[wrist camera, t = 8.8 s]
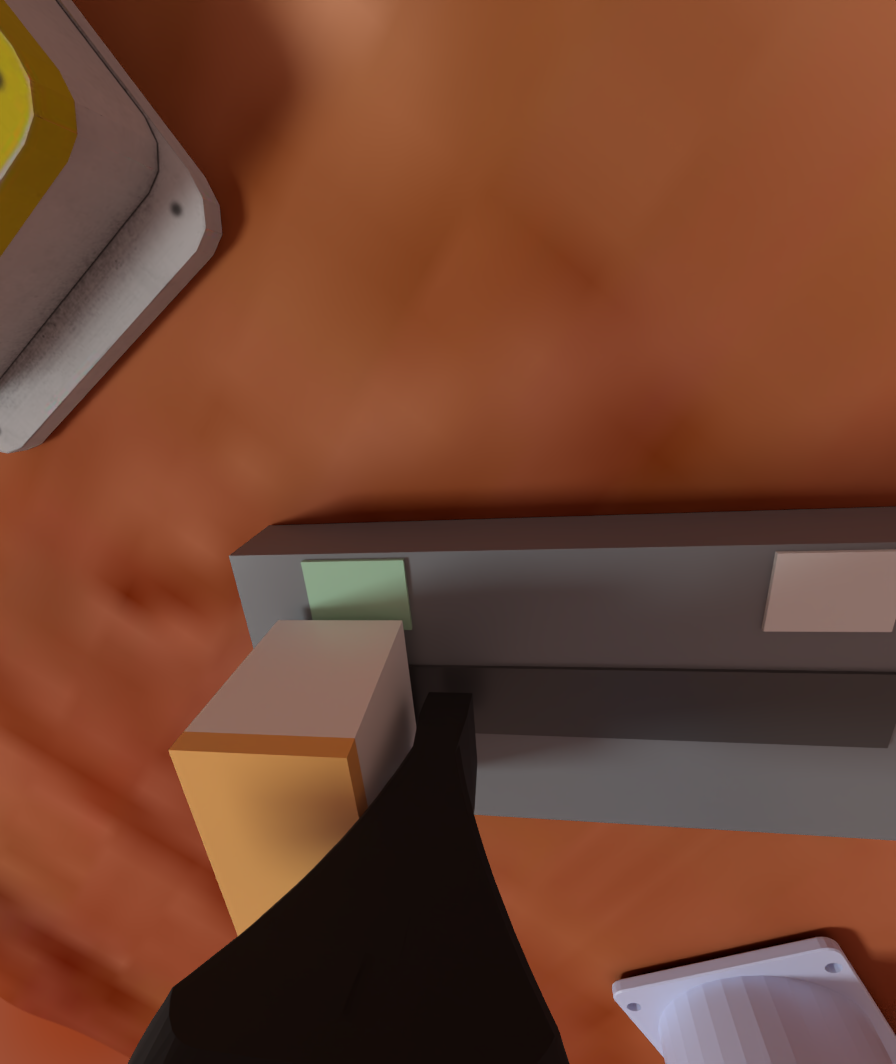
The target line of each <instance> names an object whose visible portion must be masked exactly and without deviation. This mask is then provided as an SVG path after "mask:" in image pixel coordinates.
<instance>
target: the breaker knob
mask: <svg viewBox="0 0 896 1064" xmlns="http://www.w3.org/2000/svg"><path fill="white" fill-rule="evenodd" d="M415 733H416V720H415V713H414V705H413V698H412V690H411V682H410V675H409V667H408V660H407V652H406V644H405V637H404V629H403V622H402V620H278V621H277V622H276V623H275V624H274V625H273V627H272V628H271V629H270V630H269V631H268V633H267V634H266V635H265V636H264V637H263V639H262V640H261V641H260V642H259V643H258V644H257V646H256V647H255V648H254V649H253V650H252V652H251V653H250V654H249V655H248V656H247V657H246V659H245V660H244V661H243V662H242V663H241V665H240V666H239V667H238V668H237V669H236V670H235V672H234V673H233V674H232V675H231V676H230V678H229V679H228V680H227V681H226V682H225V684H224V685H223V686H222V687H221V688H220V689H219V691H218V692H217V693H216V694H215V695H214V697H213V698H212V699H211V700H210V701H209V702H208V704H207V705H206V706H205V707H204V708H203V710H202V711H201V712H200V713H199V714H198V715H197V717H196V718H195V719H194V720H193V721H192V723H191V724H190V725H189V726H188V727H187V729H186V730H185V731H184V732H183V733H182V734H181V736H180V737H179V738H178V739H177V740H176V742H175V743H174V744H173V745H172V746H171V747H170V749H169V750H168V751H169V753H170V756H171V759H172V761H173V764H174V767H175V769H176V772H177V775H178V777H179V780H180V783H181V785H182V788H183V791H184V793H185V796H186V799H187V801H188V804H189V807H190V809H191V812H192V815H193V817H194V820H195V823H196V825H197V828H198V831H199V833H200V836H201V839H202V841H203V844H204V847H205V849H206V852H207V855H208V857H209V860H210V863H211V865H212V868H213V871H214V873H215V876H216V879H217V881H218V884H219V887H220V889H221V892H222V894H223V897H224V900H225V902H226V905H227V908H228V910H229V913H230V916H231V918H232V921H233V924H234V926H235V929H236V932H237V934H238V936H239V935H240V934H241V933H242V932H244V931H245V930H246V929H247V928H248V927H250V926H251V925H252V924H253V923H254V922H255V921H256V920H258V919H259V918H260V917H261V916H262V915H263V914H264V913H265V912H266V911H268V910H269V909H270V908H271V907H272V906H273V905H274V904H275V903H276V902H278V901H279V900H280V899H281V898H282V897H283V896H284V895H285V894H286V893H288V892H289V891H290V890H291V889H292V888H293V887H294V886H295V885H296V884H297V883H298V882H299V881H301V880H302V879H303V878H304V877H305V876H306V875H307V874H308V873H309V872H310V871H311V870H312V869H313V868H314V867H315V866H316V865H317V864H318V863H319V862H320V861H321V860H322V858H323V857H324V856H325V855H326V854H327V853H328V852H329V851H330V850H331V849H332V848H333V847H334V846H335V845H336V844H337V843H338V842H339V841H340V840H341V838H342V837H343V836H344V835H345V834H346V833H347V832H348V831H349V829H350V828H351V827H352V826H353V825H354V824H355V823H356V821H357V820H358V819H359V818H360V817H361V816H362V814H363V813H364V812H365V811H366V810H367V808H368V807H369V806H370V805H371V803H372V802H373V801H374V800H375V798H376V797H377V796H378V794H379V793H380V792H381V790H382V789H383V788H384V786H385V785H386V784H387V782H388V781H389V780H390V778H391V777H392V776H393V774H394V773H395V772H396V770H397V769H398V767H399V766H400V765H401V763H402V762H403V760H404V759H405V757H406V756H407V754H408V753H409V751H410V750H411V748H412V747H413V743H414V738H415Z"/></svg>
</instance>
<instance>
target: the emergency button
mask: <svg viewBox="0 0 896 1064" xmlns="http://www.w3.org/2000/svg"><path fill="white" fill-rule="evenodd" d="M221 236H222V225H221V214H220V205H219V203H218V201H217V199H216V197H215V195H214V193H213V191H212V189H211V187H210V186H209V184H208V182H207V180H206V178H205V176H204V175H203V174H202V172H201V171H200V170H199V168H198V167H197V166H196V164H195V163H194V162H193V160H192V159H191V158H190V156H189V155H188V154H187V152H186V151H185V150H184V148H183V147H182V146H181V144H180V143H179V142H178V140H177V139H176V138H175V136H174V135H173V134H172V133H171V131H170V130H169V129H168V127H167V126H166V125H165V123H164V122H163V121H162V119H161V118H160V117H159V115H158V114H157V113H156V111H155V110H154V109H153V107H152V106H151V105H150V103H149V102H148V101H147V99H146V98H145V97H144V95H143V94H142V93H141V91H140V90H139V89H138V87H137V86H136V85H135V84H134V82H133V81H132V80H131V78H130V77H129V76H128V74H127V73H126V72H125V70H124V69H123V68H122V66H121V65H120V64H119V62H118V61H117V60H116V58H115V57H114V56H113V54H112V53H111V52H110V50H109V49H108V48H107V46H106V45H105V44H104V42H103V41H102V40H101V39H100V37H99V36H98V35H97V33H96V32H95V31H94V29H93V28H92V27H91V25H90V24H89V23H88V21H87V20H86V19H85V17H84V16H83V15H82V13H81V12H80V11H79V9H78V8H77V7H76V5H75V4H74V3H73V1H72V0H0V452H4V453H13V452H18V451H24V450H28V449H31V448H33V447H36V446H38V445H40V444H42V443H43V442H44V440H45V439H46V438H47V437H48V436H49V435H50V434H51V433H52V432H53V431H54V429H55V428H56V427H57V426H58V425H59V424H60V423H61V422H62V421H63V420H64V419H65V417H66V416H67V415H68V414H69V413H70V412H71V411H72V410H73V409H74V408H75V406H76V405H77V404H78V403H79V402H80V401H81V400H82V399H83V398H84V397H85V395H86V394H87V393H88V392H89V391H90V390H91V389H92V388H93V387H94V386H95V385H96V383H97V382H98V381H99V380H100V379H101V378H102V377H103V376H104V375H105V374H106V372H107V371H108V370H109V369H110V368H111V367H112V366H113V365H114V364H115V363H116V361H117V360H118V359H119V358H120V357H121V356H122V355H123V354H124V353H125V352H126V351H127V349H128V348H129V347H130V346H131V345H132V344H133V343H134V342H135V341H136V340H137V338H138V337H139V336H140V335H141V334H142V333H143V332H144V331H145V330H146V329H147V327H148V326H149V325H150V324H151V323H152V322H153V321H154V320H155V319H156V318H157V317H158V315H159V314H160V313H161V312H162V311H163V310H164V309H165V308H166V307H167V306H168V304H169V303H170V302H171V301H172V300H173V299H174V298H175V297H176V296H177V295H178V293H179V292H180V291H181V290H182V289H183V288H184V287H185V286H186V285H187V284H188V283H189V281H190V280H191V279H192V278H193V277H194V276H195V275H196V274H197V273H198V272H199V270H200V269H201V268H202V267H203V266H204V265H205V264H206V263H207V262H208V261H209V259H210V258H211V257H212V256H213V255H214V253H215V250H216V248H217V246H218V243H219V241H220V239H221Z"/></svg>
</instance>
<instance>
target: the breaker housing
mask: <svg viewBox="0 0 896 1064" xmlns="http://www.w3.org/2000/svg"><path fill="white" fill-rule="evenodd" d="M229 558H230V562H231V565H232V569H233V573H234V577H235V580H236V584H237V588H238V592H239V596H240V599H241V603H242V607H243V611H244V614H245V618H246V622H247V626H248V629H249V633H250V637H251V641H252V644H253V648H255V647H256V646H257V644H258V643H259V642H260V641H261V640H262V639H263V637H264V636H265V635H266V634H267V633H268V631H269V630H270V629H271V628H272V627H273V625H274V624H275V623H276V622H277V621H278V620H402V622H403V629H404V637H405V644H406V652H407V660H408V667H409V675H410V682H411V690H412V698H413V705H414V713H415V720H416V728H417V723H418V718H419V714H420V711H421V709H422V706H423V704H424V701H425V699H426V697H427V695H428V693H429V692H447V693H472V695H473V708H474V722H475V735H476V749H477V779H476V795H475V809H474V815H490V816H506V817H523V818H539V819H555V820H572V821H588V822H604V823H620V824H637V825H653V826H669V827H685V828H702V829H718V830H734V831H751V832H767V833H783V834H799V835H816V836H832V837H848V838H864V839H881V840H896V507H863V508H830V509H797V510H764V511H731V512H698V513H665V514H632V515H599V516H566V517H533V518H500V519H467V520H434V521H401V522H368V523H335V524H302V525H269V526H268V527H266V528H265V529H264V530H262V531H261V532H260V533H258V534H257V535H256V536H254V537H253V538H252V539H250V540H249V541H248V542H247V543H245V544H244V545H243V546H241V547H240V548H239V549H237V550H236V551H235V552H233V553H232V554H231V555H229Z"/></svg>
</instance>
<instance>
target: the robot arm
mask: <svg viewBox="0 0 896 1064" xmlns="http://www.w3.org/2000/svg"><path fill="white" fill-rule="evenodd" d="M476 779H477V749H476V735H475V722H474V708H473V695H472V693H447V692H429V693H428V695H427V697H426V699H425V701H424V704H423V706H422V709H421V711H420V714H419V718H418V723H417V728H416V733H415V738H414V743H413V747H412V748H411V750H410V751H409V753H408V754H407V756H406V757H405V759H404V760H403V762H402V763H401V765H400V766H399V767H398V769H397V770H396V772H395V773H394V774H393V776H392V777H391V778H390V780H389V781H388V782H387V784H386V785H385V786H384V788H383V789H382V790H381V792H380V793H379V794H378V796H377V797H376V798H375V800H374V801H373V802H372V803H371V805H370V806H369V807H368V808H367V810H366V811H365V812H364V813H363V814H362V816H361V817H360V818H359V819H358V820H357V821H356V823H355V824H354V825H353V826H352V827H351V828H350V829H349V831H348V832H347V833H346V834H345V835H344V836H343V837H342V838H341V840H340V841H339V842H338V843H337V844H336V845H335V846H334V847H333V848H332V849H331V850H330V851H329V852H328V853H327V854H326V855H325V856H324V857H323V858H322V860H321V861H320V862H319V863H318V864H317V865H316V866H315V867H314V868H313V869H312V870H311V871H310V872H309V873H308V874H307V875H306V876H305V877H304V878H303V879H302V880H301V881H299V882H298V883H297V884H296V885H295V886H294V887H293V888H292V889H291V890H290V891H289V892H288V893H286V894H285V895H284V896H283V897H282V898H281V899H280V900H279V901H278V902H276V903H275V904H274V905H273V906H272V907H271V908H270V909H269V910H268V911H266V912H265V913H264V914H263V915H262V916H261V917H260V918H259V919H258V920H256V921H255V922H254V923H253V924H252V925H251V926H250V927H248V928H247V929H246V930H245V931H244V932H242V933H241V934H240V935H239V936H238V937H236V938H235V939H234V940H233V941H231V942H230V943H229V944H228V945H226V946H225V947H224V948H223V949H221V950H220V951H219V952H217V953H216V954H215V955H214V956H212V957H211V958H210V959H209V960H207V961H206V962H205V963H204V964H202V965H201V966H200V967H198V968H197V969H196V970H195V971H193V972H192V973H191V974H190V975H188V976H187V977H186V978H184V979H183V980H182V981H180V982H179V983H178V984H176V985H175V986H174V987H173V988H172V989H171V991H170V993H169V995H168V996H167V998H166V1000H165V1001H164V1003H163V1004H162V1006H161V1007H160V1009H159V1010H158V1012H157V1013H156V1015H155V1016H154V1018H153V1019H152V1021H151V1023H150V1024H149V1026H148V1028H147V1029H146V1031H145V1033H144V1035H143V1036H142V1038H141V1040H140V1042H139V1043H138V1045H137V1047H136V1049H135V1051H134V1053H133V1055H132V1056H131V1058H130V1060H129V1062H128V1064H569V1061H568V1058H567V1055H566V1052H565V1049H564V1046H563V1042H562V1039H561V1035H560V1032H559V1030H558V1027H557V1025H556V1023H555V1021H554V1019H553V1017H552V1015H551V1013H550V1010H549V1008H548V1006H547V1004H546V1002H545V1000H544V998H543V996H542V993H541V991H540V989H539V987H538V985H537V982H536V980H535V978H534V976H533V974H532V971H531V969H530V967H529V965H528V962H527V960H526V957H525V955H524V953H523V950H522V948H521V946H520V943H519V941H518V939H517V936H516V934H515V932H514V929H513V927H512V924H511V921H510V919H509V916H508V914H507V911H506V908H505V906H504V903H503V901H502V898H501V895H500V893H499V890H498V888H497V885H496V882H495V880H494V877H493V874H492V871H491V868H490V865H489V862H488V859H487V856H486V853H485V850H484V847H483V844H482V840H481V837H480V834H479V831H478V827H477V824H476V820H475V817H474V809H475V795H476ZM612 991H613V997H614V999H615V1001H616V1002H617V1003H618V1004H619V1006H620V1007H621V1008H622V1009H623V1010H624V1011H625V1013H626V1014H627V1015H628V1016H629V1017H630V1018H631V1020H632V1021H633V1022H634V1023H635V1024H636V1026H637V1027H638V1028H639V1029H640V1030H641V1031H642V1033H643V1034H644V1035H645V1036H646V1037H647V1038H648V1040H649V1041H650V1042H651V1043H652V1044H653V1045H654V1047H655V1048H656V1049H657V1050H658V1051H659V1052H660V1054H661V1055H662V1056H663V1057H664V1059H665V1064H896V1035H895V1033H894V1032H893V1030H892V1028H891V1027H890V1025H889V1024H888V1022H887V1021H886V1019H885V1017H884V1016H883V1014H882V1013H881V1011H880V1009H879V1008H878V1006H877V1005H876V1003H875V1002H874V1000H873V998H872V997H871V995H870V994H869V992H868V990H867V989H866V987H865V986H864V984H863V982H862V981H861V979H860V978H859V976H858V975H857V973H856V971H855V970H854V968H853V967H852V965H851V963H850V962H849V960H848V959H847V957H846V956H845V954H844V952H843V951H842V949H841V948H840V946H839V944H838V943H837V942H836V941H835V940H833V939H831V938H828V937H822V936H820V937H813V938H809V939H804V940H799V941H795V942H790V943H786V944H781V945H776V946H772V947H767V948H763V949H758V950H753V951H749V952H744V953H739V954H735V955H730V956H726V957H721V958H716V959H712V960H707V961H703V962H698V963H693V964H689V965H684V966H679V967H675V968H670V969H666V970H661V971H656V972H652V973H647V974H643V975H638V976H633V977H629V978H624V979H620V980H617V981H615V982H614V983H613V985H612Z"/></svg>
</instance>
